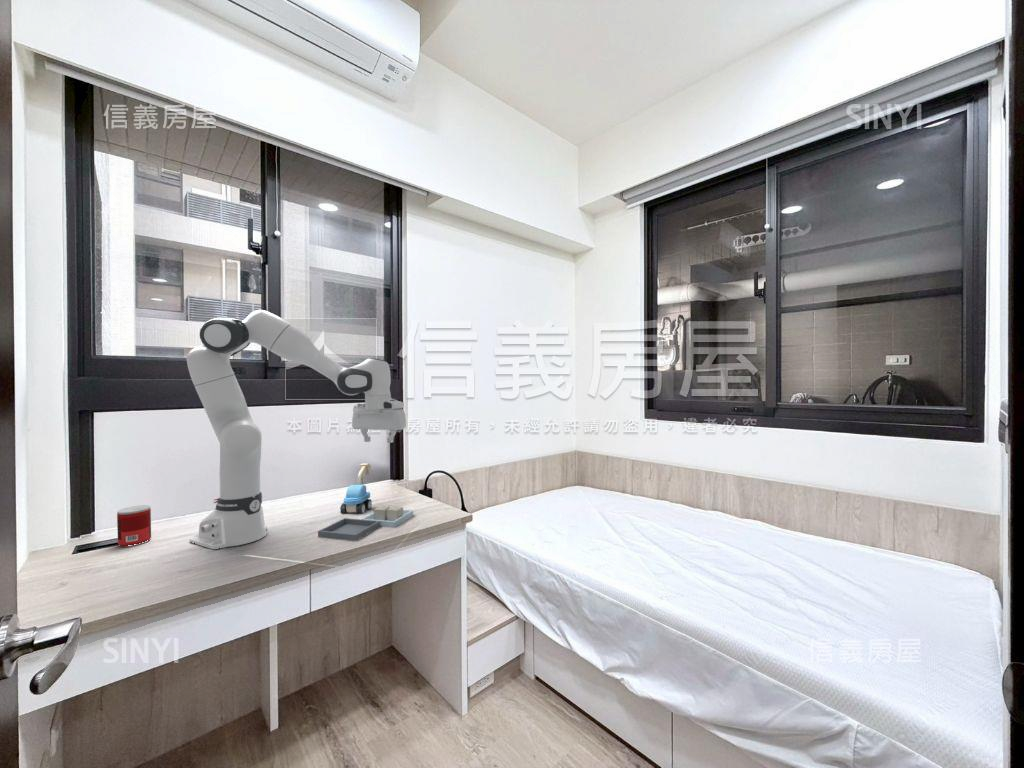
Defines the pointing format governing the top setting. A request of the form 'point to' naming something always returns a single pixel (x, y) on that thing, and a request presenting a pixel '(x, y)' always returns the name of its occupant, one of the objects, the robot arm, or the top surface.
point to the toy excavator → (358, 494)
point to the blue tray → (386, 523)
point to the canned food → (134, 525)
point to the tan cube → (380, 513)
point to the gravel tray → (349, 529)
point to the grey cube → (394, 513)
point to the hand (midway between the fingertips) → (378, 442)
